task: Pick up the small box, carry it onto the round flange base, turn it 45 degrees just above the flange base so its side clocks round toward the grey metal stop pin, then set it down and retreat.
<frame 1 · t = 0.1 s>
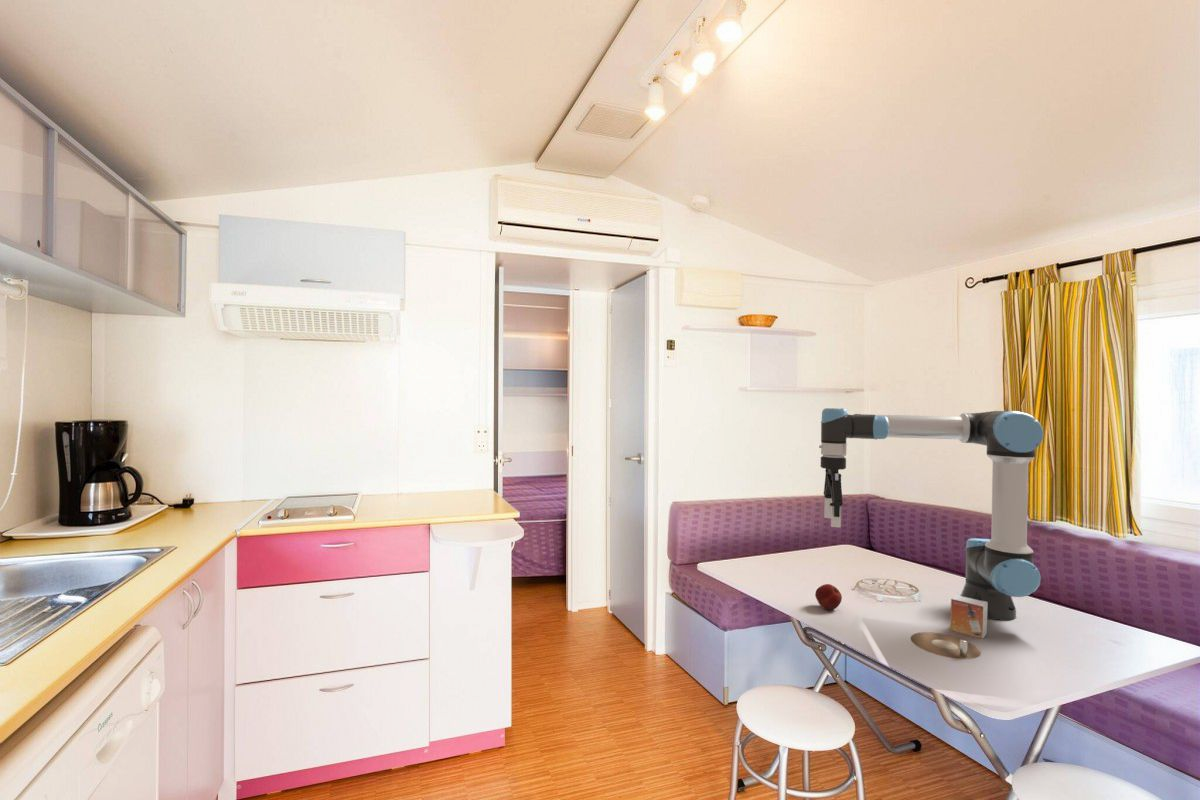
hand: (832, 522, 176), 28 cm above the table, fingers open, 13 cm apart
small box: (968, 637, 157), on the table
stop pin: (963, 656, 141), resting on flange base
apple: (827, 609, 176), on the table
flange base: (944, 650, 148), on the table
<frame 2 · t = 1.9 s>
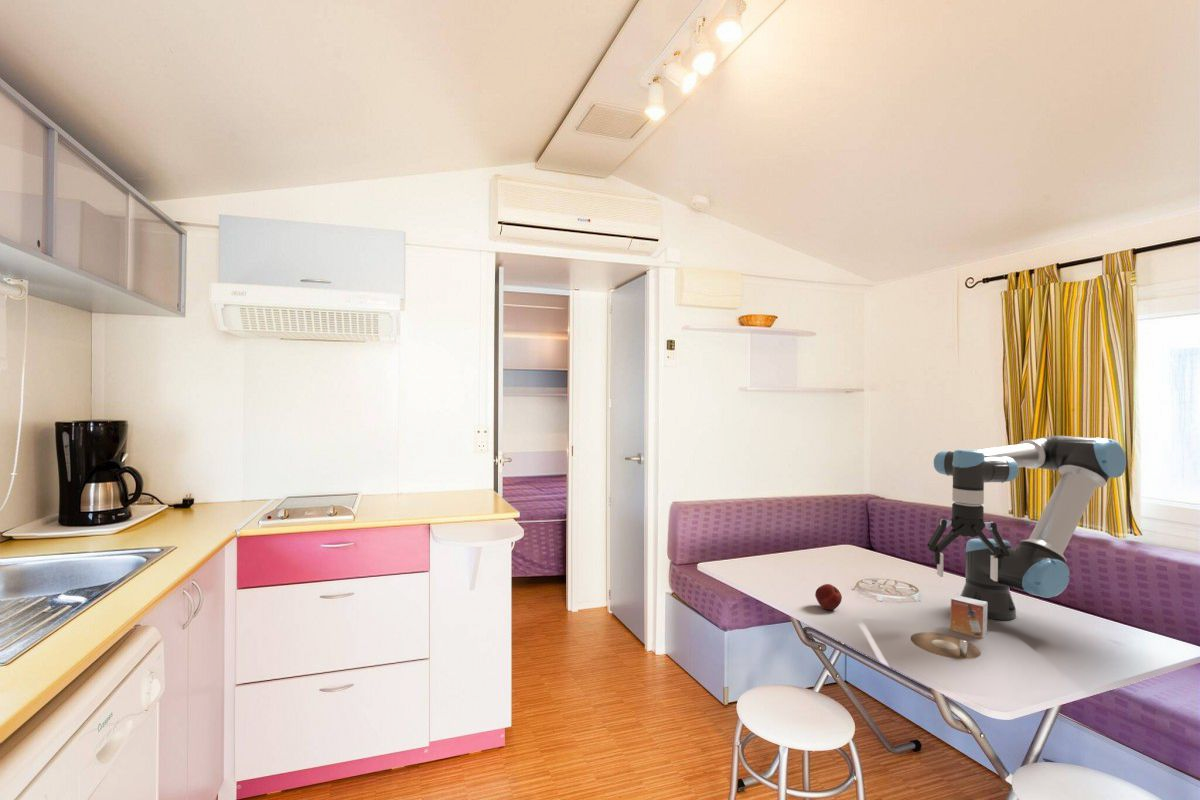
hand: (966, 577, 157), 17 cm above the table, fingers open, 13 cm apart
nothing on the table moved.
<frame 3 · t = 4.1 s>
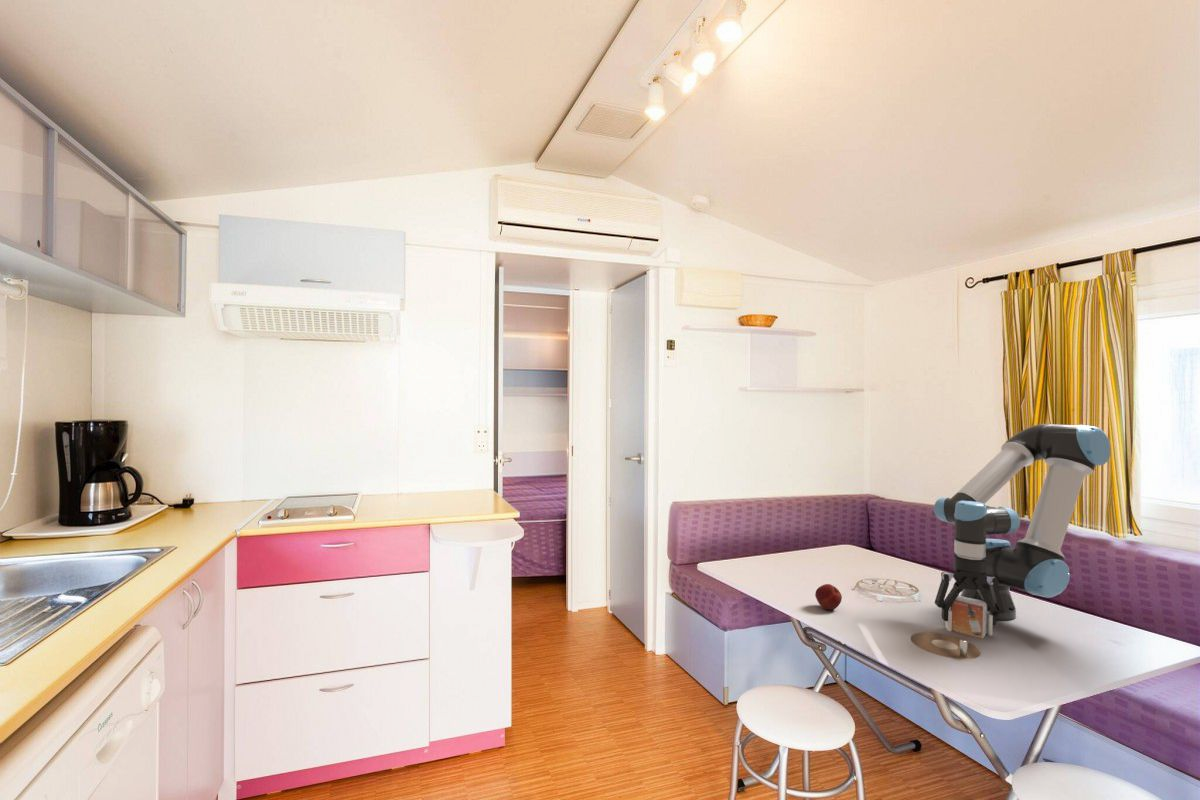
hand: (968, 634, 157), 1 cm above the table, fingers closed on small box, 9 cm apart
small box: (968, 637, 157), on the table, touching gripper
everything else where it was.
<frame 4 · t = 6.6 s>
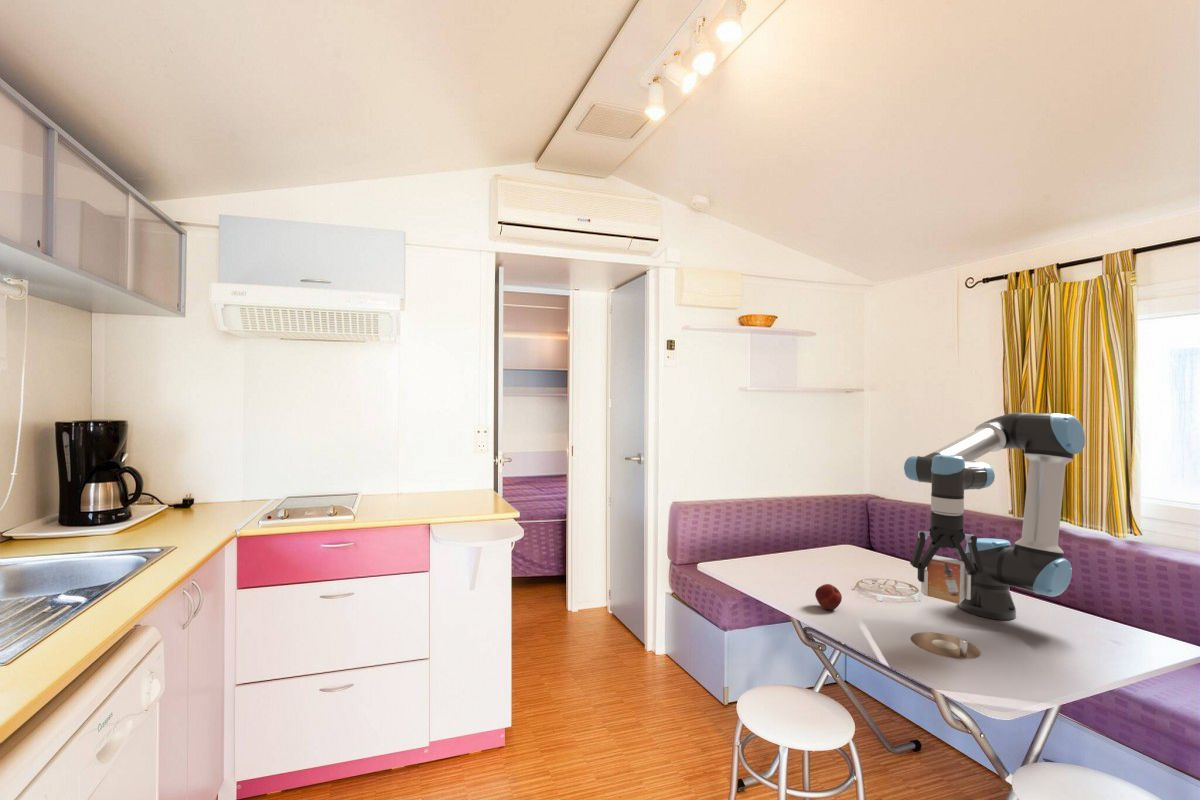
hand: (945, 595, 148), 15 cm above the table, fingers closed on small box, 9 cm apart
small box: (945, 598, 148), point 14 cm above the table, touching gripper
everything else where it was.
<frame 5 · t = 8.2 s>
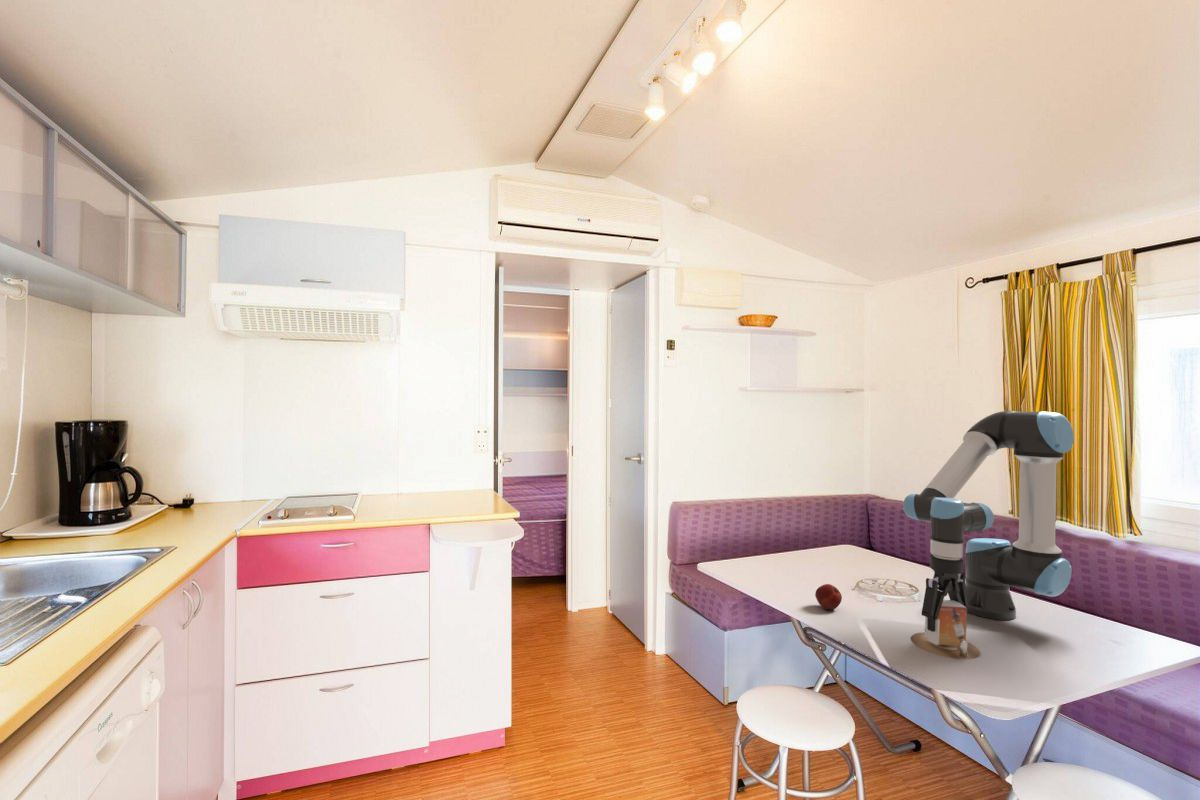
hand: (945, 639, 148), 3 cm above the table, fingers closed on small box, 9 cm apart
small box: (945, 642, 148), point 2 cm above the table, touching gripper
everything else where it was.
when the fingers open (3 cm above the table, at t = 9.4 s): small box stays where it is, resting on flange base.
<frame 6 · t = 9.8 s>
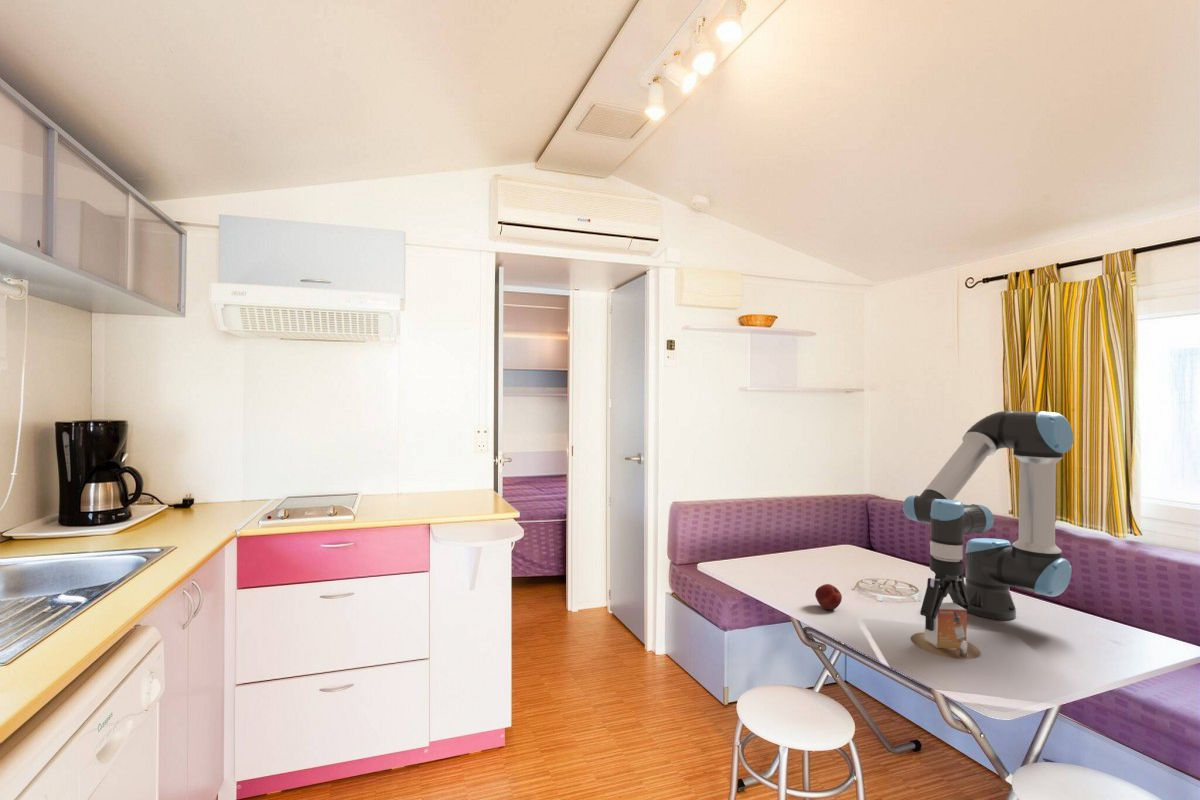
hand: (944, 636, 148), 4 cm above the table, fingers open, 13 cm apart
small box: (945, 645, 148), point 1 cm above the table, touching flange base
everything else where it was.
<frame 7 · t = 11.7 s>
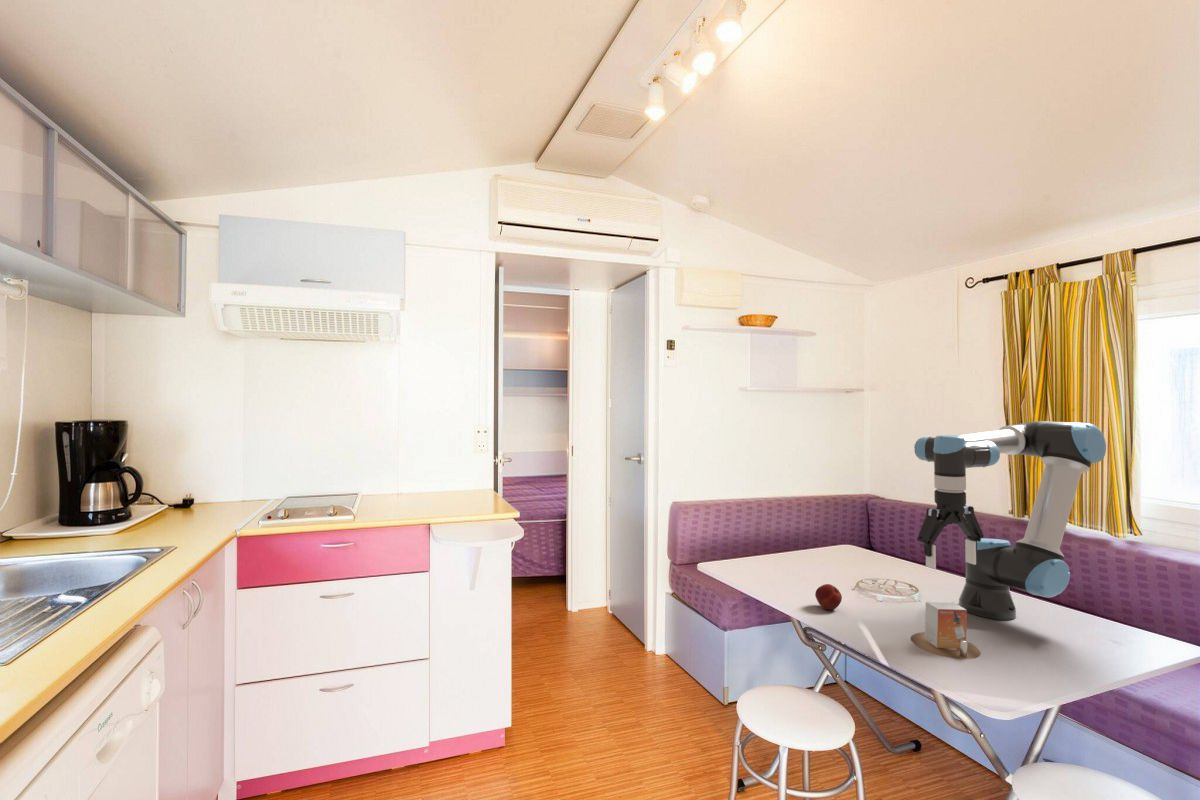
hand: (951, 565, 154), 21 cm above the table, fingers open, 13 cm apart
nothing on the table moved.
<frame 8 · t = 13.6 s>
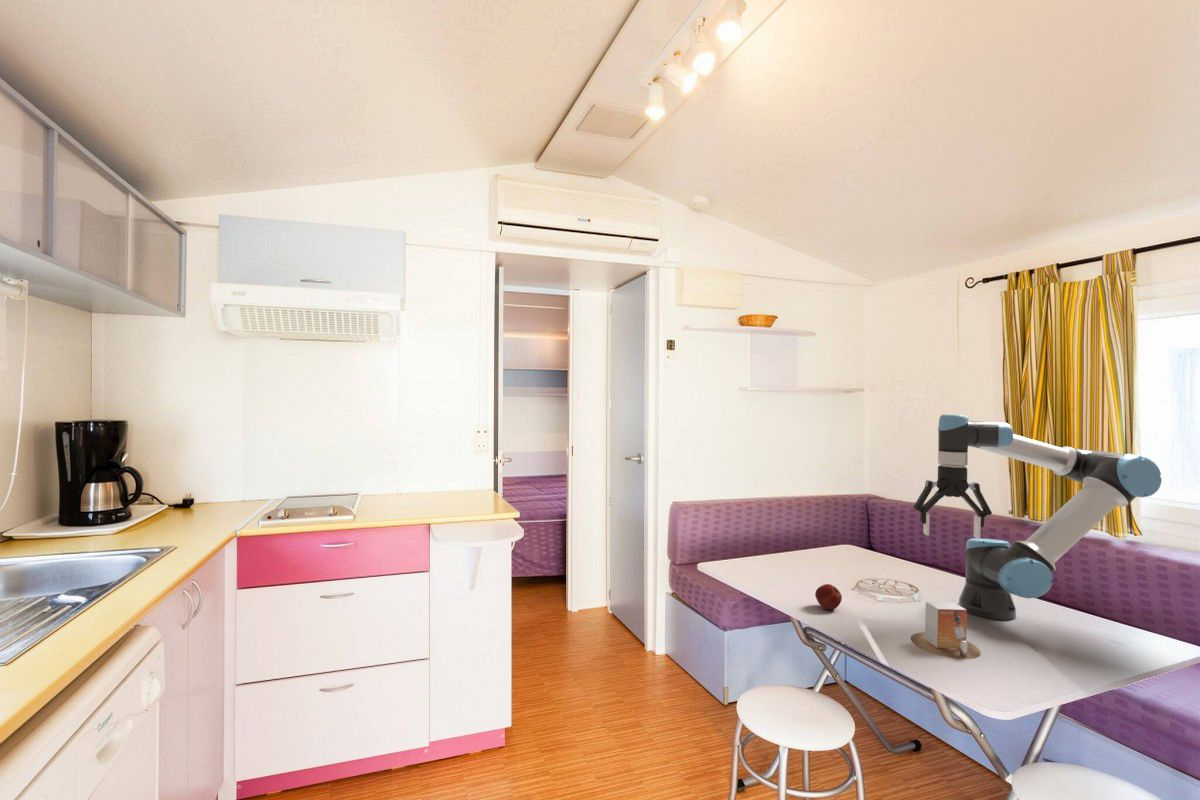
hand: (951, 536, 165), 27 cm above the table, fingers open, 13 cm apart
nothing on the table moved.
at the end: small box 0.2 cm from the flange base (horizontally); small box tilted 0°; the gripper is holding nothing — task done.
